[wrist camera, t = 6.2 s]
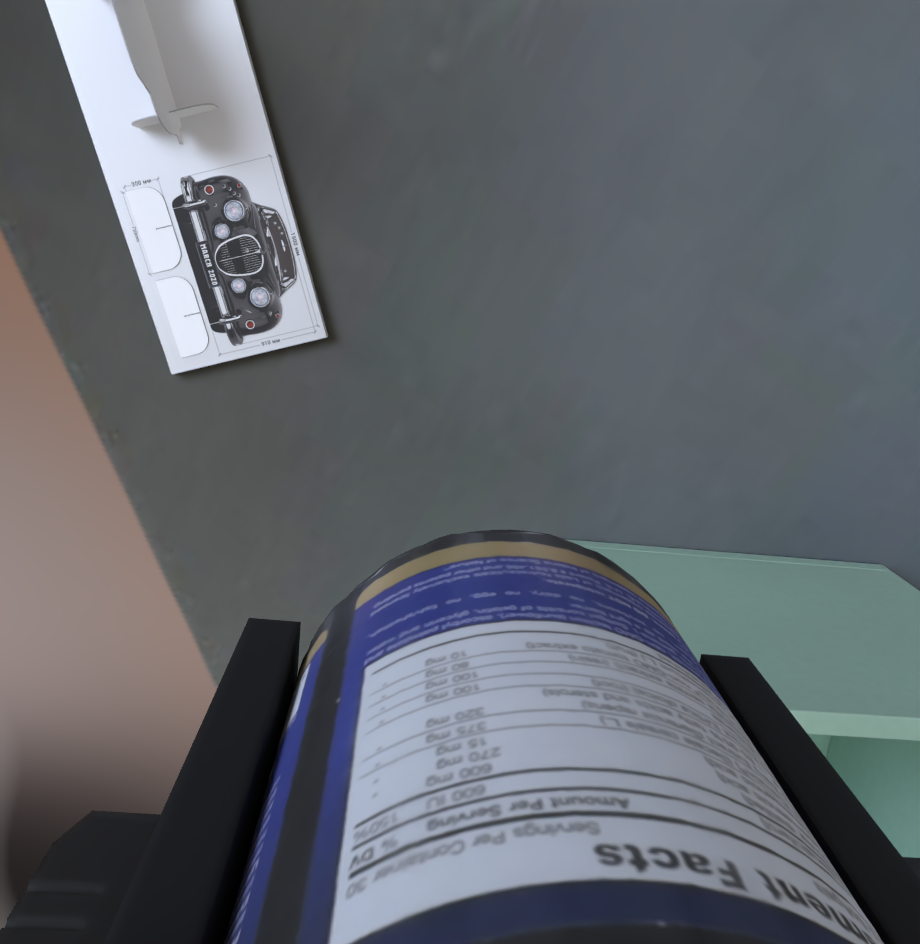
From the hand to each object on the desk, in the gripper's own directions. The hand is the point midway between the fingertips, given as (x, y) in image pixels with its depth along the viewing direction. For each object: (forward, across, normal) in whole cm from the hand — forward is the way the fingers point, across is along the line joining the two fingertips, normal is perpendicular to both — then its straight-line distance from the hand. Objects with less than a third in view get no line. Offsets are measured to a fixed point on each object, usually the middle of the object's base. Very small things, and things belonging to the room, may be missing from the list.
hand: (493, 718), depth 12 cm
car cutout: (+23, -11, +8) cm, 27 cm away
